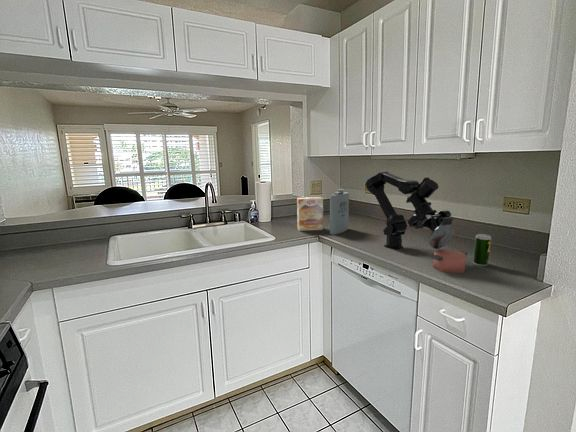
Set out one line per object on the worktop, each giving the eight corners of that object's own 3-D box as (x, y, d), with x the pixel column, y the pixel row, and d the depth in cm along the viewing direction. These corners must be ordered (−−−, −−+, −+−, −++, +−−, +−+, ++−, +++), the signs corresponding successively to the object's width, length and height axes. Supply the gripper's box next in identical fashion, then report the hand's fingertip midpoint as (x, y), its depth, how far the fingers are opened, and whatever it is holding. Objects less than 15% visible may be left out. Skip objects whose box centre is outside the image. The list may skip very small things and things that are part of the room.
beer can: (473, 265, 125) (475, 236, 122) (472, 261, 129) (475, 233, 127) (488, 267, 122) (492, 237, 120) (487, 263, 127) (491, 234, 124)
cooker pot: (421, 265, 125) (422, 251, 124) (449, 260, 130) (450, 246, 129) (445, 276, 114) (447, 260, 113) (475, 269, 120) (476, 254, 119)
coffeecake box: (298, 231, 186) (298, 199, 182) (297, 228, 193) (296, 197, 189) (323, 229, 188) (323, 198, 184) (320, 227, 195) (320, 196, 191)
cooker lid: (427, 250, 124) (425, 249, 125) (448, 246, 128) (446, 245, 129) (438, 219, 117) (436, 218, 118) (460, 216, 122) (458, 215, 122)
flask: (335, 235, 176) (336, 191, 171) (328, 233, 178) (329, 190, 174) (350, 229, 189) (351, 188, 184) (343, 228, 192) (344, 187, 187)
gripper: (426, 213, 142) (444, 242, 134) (393, 217, 135) (410, 248, 127) (441, 198, 133) (462, 229, 125) (407, 202, 127) (427, 234, 119)
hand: (440, 235), depth 124 cm, fingers closed, pressing on cooker lid
